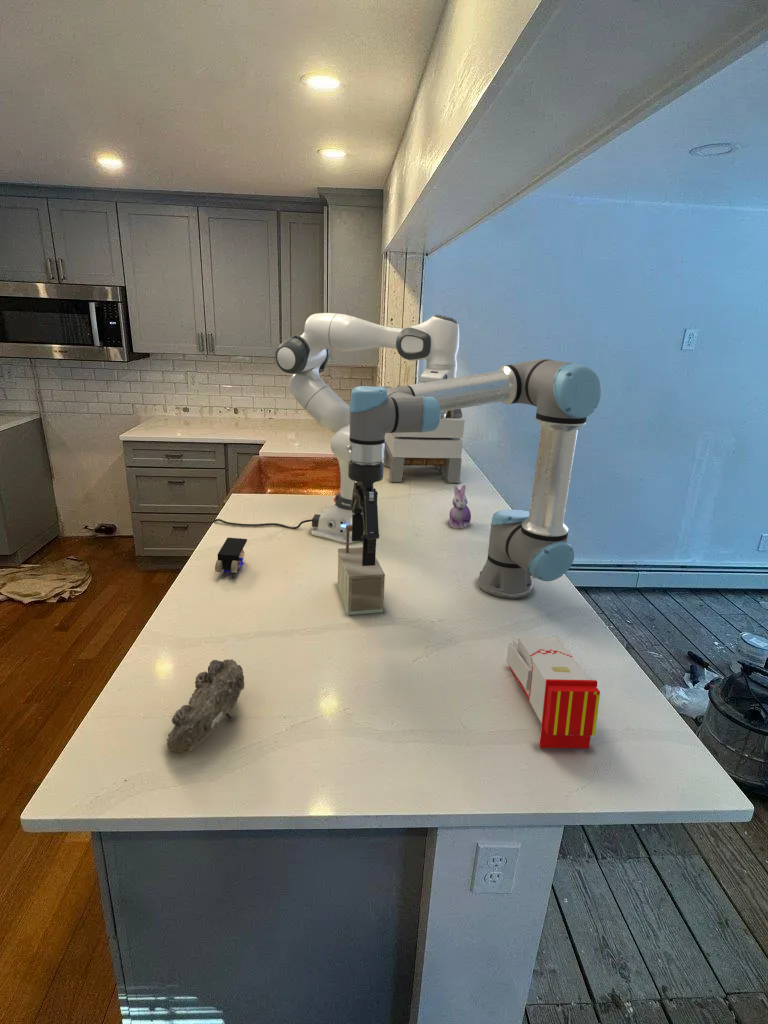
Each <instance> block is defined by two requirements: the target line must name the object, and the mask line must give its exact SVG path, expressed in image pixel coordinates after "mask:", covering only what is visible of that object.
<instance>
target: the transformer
mask: <svg viewBox="0 0 768 1024" xmlns="http://www.w3.org/2000/svg"><path fill="white" fill-rule="evenodd" d="M400 386H401V385H399V384H398V385H397V386H396V387H400ZM464 429H465V419H464V418H463V411H462V408H461V409H456V410H450V411H447V413H446V418H445V419H444V420H442V419H440V422H439V425H438V427H437V428H436V429H435V430H434V431H428V432H422V433H420V432H405V433H385V453H384V460H383V464H384V467H388V468H389V475H388V476H389V477H388V478H389V480H390V482H391V483H402V482H403V475H404V469H405V466H406V467H407V466H411V467H412V466H413V467H415V466H416V467H417V466H418V467H436V468H437V470H438V469H439V473H440V474H441V475H443V478H444V479H445V481H446V482H447V483H449V484H455V483H456V484H459V483H461V472H462V461H463V460H462V453H463V442H464V441H463V440H462V439H463V438H464V431H465V430H464Z"/></svg>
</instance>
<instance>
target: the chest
mask: <svg viewBox="0 0 768 1024" xmlns="http://www.w3.org/2000/svg"><path fill="white" fill-rule="evenodd" d="M385 580H386V576H385V577H382V578H367V579H352V580H349V579H348V576H347V574H346V571H345V569H344V566H343V563H342V561H341V558H340V556H339V553H338V552H337V587H338V590H339V592H340V596H341V599H342V602H343V605H344V608H345V610H346V614H347V616H352V615H364V614H376V613H383V612H384V602H385V601H384V600H385V583H386V581H385Z"/></svg>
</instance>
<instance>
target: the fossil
mask: <svg viewBox="0 0 768 1024" xmlns="http://www.w3.org/2000/svg"><path fill="white" fill-rule="evenodd" d="M243 670H244V669H243V667H242V665H240V664H237V662H236V661H235V660H234V659H232V658H231V659H227V658H226V659H224V660H223V661H222V660H217V659H212V660H211V661H210V663H209V665H208V666H207V671H201V672H199V673H198V674H197V675H196V676H195V680H194V684H195V685H194V687H195V689H194V690H193V693H192V694H191V697H190V698H189V700H188V704H184V705H182V706H181V707H180V709H177V710H176V711H175V713H174V715H173V716H172V718H171V723H172V724H173V727H172V730H171V731H170V732H168V734H167V738H166V741H167V742H166V745H167V749H168V750H169V751H173V752H174V753H176V754H178V753H182V752H188V751H189V752H192V751H193V750H195V748H196V747H197V746H199V744H200V743H201V742H203V741H204V740H205V739H206V738H207V737H208V736H209V735H210V734H211V733H212V732H214V730H215V729H217V727H218V726H219V724H220V722H221V721H222V720H223V719H224V718H225V716H226V717H227V719H229V720H233V717H232V715H230V714H229V710H230V709H231V708H234V706H235V704H236V703H237V702H238V699H239V697H240V695H241V693H242V691H243V690H245V689H244V688H245V675H244V671H243Z"/></svg>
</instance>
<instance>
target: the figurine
mask: <svg viewBox="0 0 768 1024" xmlns="http://www.w3.org/2000/svg"><path fill="white" fill-rule="evenodd" d="M466 489H467V485H465V484H463V485H462V486H461V488H460V489H459V488H458V486H457V485H454V486H453V491H454V492H453V493H454V496H453V498H452V505H453V506H452V508H450V510H449V515H448V516H449V518H448V524H449V526H450V527H451V528H454V529H462V528H467V527H469V526H470V523H471V519H472V513H471V510H470V508H469V507H468V503H469V502H468V498H467V496H466Z"/></svg>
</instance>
